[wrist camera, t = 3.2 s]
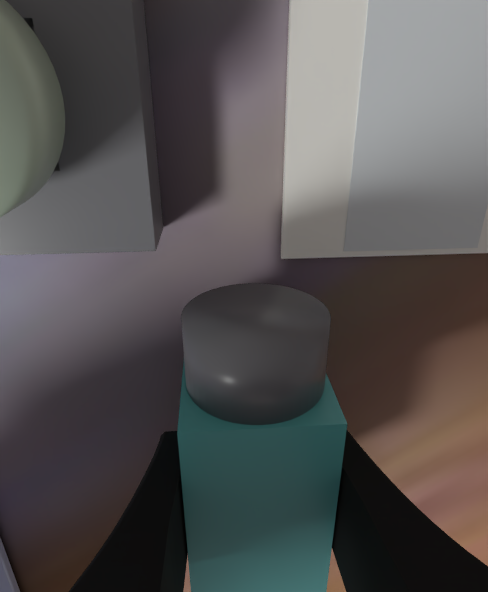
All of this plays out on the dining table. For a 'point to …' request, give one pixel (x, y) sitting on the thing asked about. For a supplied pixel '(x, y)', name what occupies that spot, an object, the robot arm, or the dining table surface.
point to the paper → (386, 128)
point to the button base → (94, 134)
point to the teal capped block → (258, 440)
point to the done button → (26, 112)
